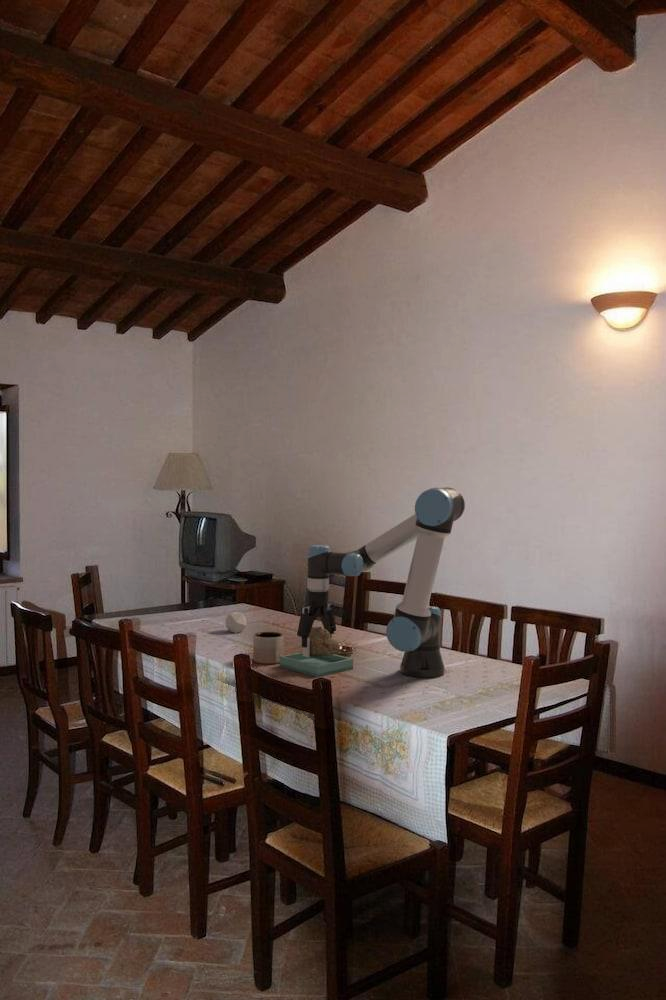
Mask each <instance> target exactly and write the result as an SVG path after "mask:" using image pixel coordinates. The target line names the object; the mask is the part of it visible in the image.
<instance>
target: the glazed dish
mask: <svg viewBox="0 0 666 1000" xmlns="http://www.w3.org/2000/svg"><path fill="white" fill-rule="evenodd" d="M279 667H281V668H284V669H288V670H291V671H294V672H298V673H300V674H304V675H308V676H312V677H315V678H320V677H325V676H329V675H333V674H337V673H342V672H346V670H347V671H350V669H351V670H354V658H350V657H346V656H343V655H338V654H332V655H331V656H323V657H316V656H310V657H305V656H303V651H301V652H297V653H291V654H286V655H285V654H284V656H280V663H279Z"/></svg>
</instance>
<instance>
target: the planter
mask: <svg viewBox="0 0 666 1000" xmlns="http://www.w3.org/2000/svg"><path fill="white" fill-rule="evenodd" d="M284 636H285V635H284V633H281V632H277V631H261V632H260V631H259V632H255V633H254V634H253V644H252V645H253V646H252V647H253V648H252V649H253V650H252V660H253V662H254V663H257V664H260V665H277V664H280V656H285V653H284V650H285V646H284V644H285V643H284V642H285V641H284V640H285V639H284V638H285V637H284Z"/></svg>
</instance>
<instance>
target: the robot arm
mask: <svg viewBox="0 0 666 1000" xmlns="http://www.w3.org/2000/svg"><path fill="white" fill-rule="evenodd" d="M465 505H466V503H465V499H464V496H463V494H462V493H461V492H460V491H458V490H457V489H456V488H452V487H432V488H428V489H426V490H424V491H423V492H422V493H420V494H419V496H418V497H417V499H416V501H415V503H414V512H415V513H414V514H413V515H411V516H410V517H408V518H406V519H404V520H403V521H400V523H397V525H394V527H392V528H390V529H389V530H386V531H385V532H383V533H382V534H381V535H379V536H377V537H375V538H374V539H372V540H370V541H369V542H367V543H366V544H365V545H363V546H361V547H359V548H358V549H356V550H353V551H348V552H347V551H346V552H335V551H331V549H330V546H329V545H325V544H312V545H310V546H308V548H307V549H308V551H307V578H306V579H307V580H306V585H307V586H306V587H307V591H306V601H307V606H305V607H303V606H301V607H300V617H299V622H298V627H297V631H296V635H297V637H300V638H301V648H302V647H303V648H302V652H303V656H305V657H310V638H308V636H309V633H310V631H311V628H312V627H313V625H314V623H315V621H316V620H317V618H319V619H320V621H321V623H322V626H323V627H322V628H323V629H326V630H327V631H328V632H330V638H331V639H332V635H334V634H335V632H336V631H337V625H336V624H337V623H336V619H335V612H334V611H335V604H333V603H328V602H329V598H330V597H329V595H330V594H329V593H330V592H329V588H330V575H341V576H347V577H358V576H360V575H361V573H362V572H365V571H368V570H370V569H372V568H374V565H376V564H378V563H379V562H381V561H382V560H384V559H386V558H387V557H388V556H391V555H393V554H394V553H396V552H397V551H399V550H401V549H402V548H404V547H405V546H407V545H409V544H411V543H412V542H414V541H415V546H414V548H413V554H412V558H411V563H410V567H409V571H408V573H407V574H408V575H407V580H406V583H405V587H404V592H403V597H402V600H401V602H399V603H398V604H396V607H395V610H394V614H393V618H391V619H390V621H389V622H388V623H387V626H386V628H385V629H386V630H385V633H386V634H385V635H386V638H387V640H388V642H389V644H390V645H391V646H392V647H393V648H394V649H395V650H398V651H400V652H404V654H403V657H402V659H401V662H400V665H399V670H400V671H399V672H400V673H401V674H403V675H405V676H408V675H409V676H408V677H414V678H437V677H438V678H439V677H442V676H443V675H445V671H446V670H445V667H446V666H445V665H444V661H443V658H442V654H441V653H442V652H441V628H442V627H441V625H442V611H441V609H440V608H439V607H438V606H431V605H430V600H431V596H432V592H433V587H434V583H435V579H436V576H437V571H438V566H439V562H440V558H441V554H442V549H443V545H444V541H445V538H446V537H447V536H449V535H451V532H452V528H453V525H454V522H456V521H457V520H459V519H460V518H461V517H462V515H463V514H464V511H465V508H466V507H465ZM305 633H306V634H305Z"/></svg>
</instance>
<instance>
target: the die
mask: <svg viewBox="0 0 666 1000" xmlns="http://www.w3.org/2000/svg"><path fill="white" fill-rule="evenodd" d="M224 621H225V627H226V629H227V630H228V631H229V632H230V633H234V634H238V632H239V633H241V632H243V631H244V629H246V627H247V619H246V616H245V615H244V613H242V612H239V611H233V612H231V613H229V614H228V616H226V618H225V620H224Z"/></svg>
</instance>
